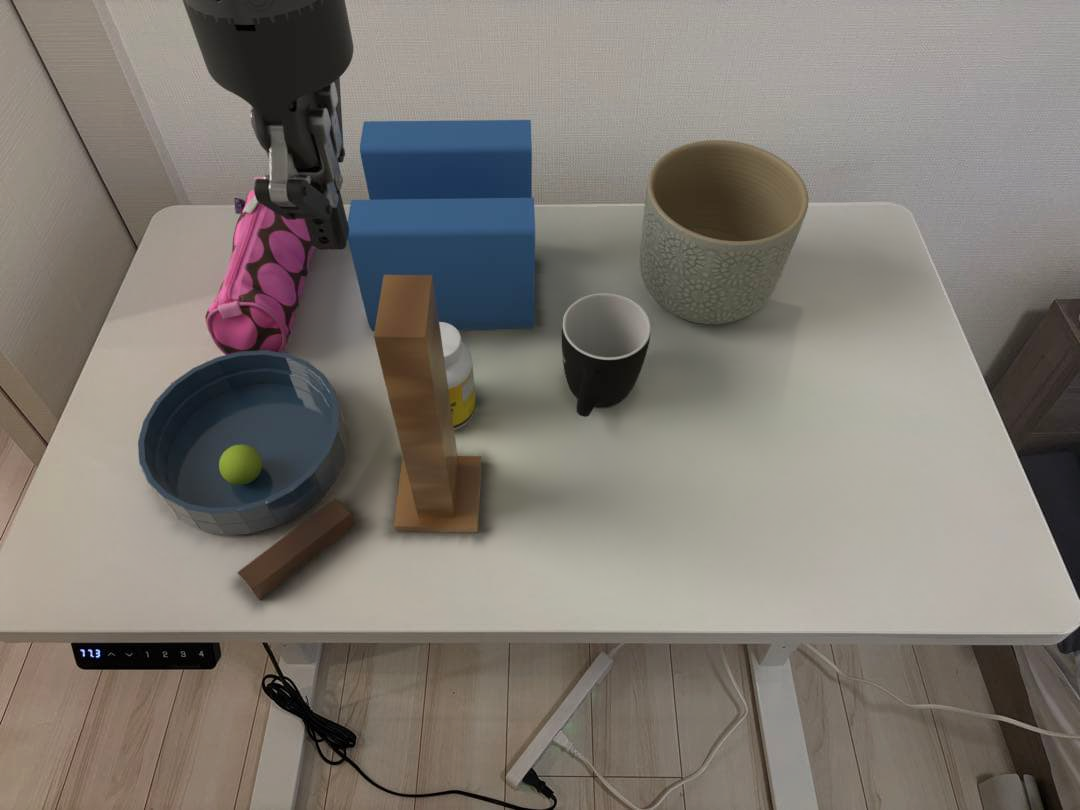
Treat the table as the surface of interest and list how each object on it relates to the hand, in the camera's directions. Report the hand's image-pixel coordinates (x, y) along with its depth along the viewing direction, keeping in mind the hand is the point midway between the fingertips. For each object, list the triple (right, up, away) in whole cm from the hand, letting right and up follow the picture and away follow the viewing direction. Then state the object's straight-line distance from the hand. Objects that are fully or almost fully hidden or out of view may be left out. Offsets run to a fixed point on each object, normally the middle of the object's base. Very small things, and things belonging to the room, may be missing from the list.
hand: (332, 242), depth 52 cm
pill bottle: (+4, -11, +34) cm, 36 cm away
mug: (+20, -10, +35) cm, 41 cm away
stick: (-9, -23, +22) cm, 33 cm away
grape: (-16, -17, +26) cm, 35 cm away
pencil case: (-18, +2, +43) cm, 47 cm away
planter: (+33, +3, +45) cm, 56 cm away
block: (+4, +3, +44) cm, 44 cm away
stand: (+4, -20, +28) cm, 34 cm away
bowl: (-16, -16, +30) cm, 38 cm away
